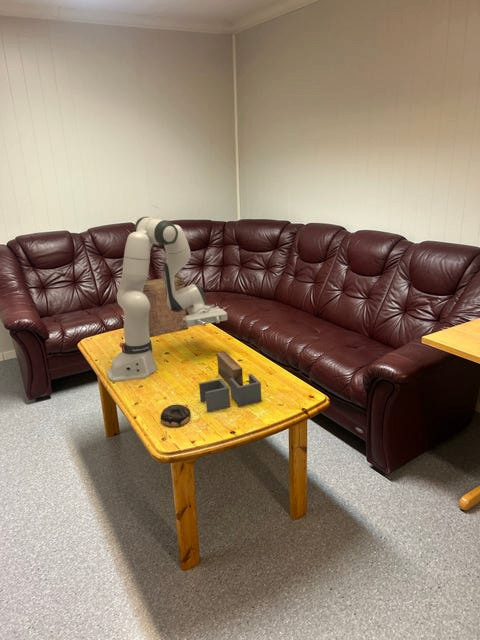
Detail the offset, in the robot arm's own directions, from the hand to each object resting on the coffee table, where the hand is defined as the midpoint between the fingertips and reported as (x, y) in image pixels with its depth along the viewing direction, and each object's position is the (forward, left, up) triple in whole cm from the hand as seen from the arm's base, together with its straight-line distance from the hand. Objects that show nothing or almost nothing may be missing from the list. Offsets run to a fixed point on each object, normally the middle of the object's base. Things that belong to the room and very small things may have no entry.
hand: (211, 323), depth 209 cm
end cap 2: (0, -39, -20) cm, 44 cm away
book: (-11, +56, -20) cm, 60 cm away
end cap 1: (-13, -38, -20) cm, 45 cm away
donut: (-29, -42, -20) cm, 55 cm away
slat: (0, -22, -20) cm, 30 cm away
